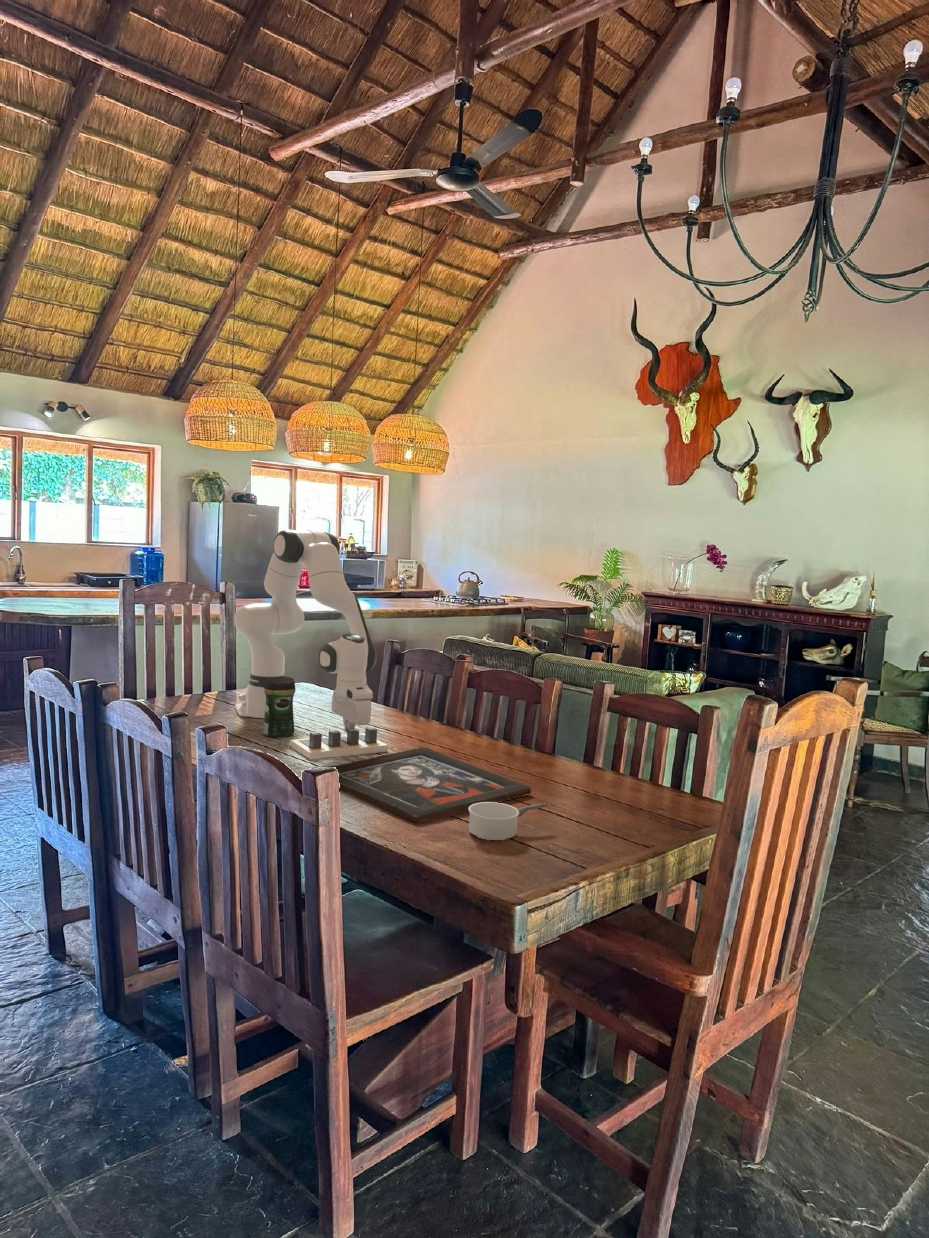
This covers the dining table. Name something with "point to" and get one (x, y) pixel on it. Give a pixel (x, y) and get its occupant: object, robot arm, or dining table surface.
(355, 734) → the block
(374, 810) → the dining table surface
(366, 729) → the block
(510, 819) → the saucepan
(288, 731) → the coffee jar
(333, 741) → the block
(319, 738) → the block
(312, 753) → the panel
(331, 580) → the robot arm
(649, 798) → the dining table surface
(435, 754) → the religious icon
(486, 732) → the dining table surface
